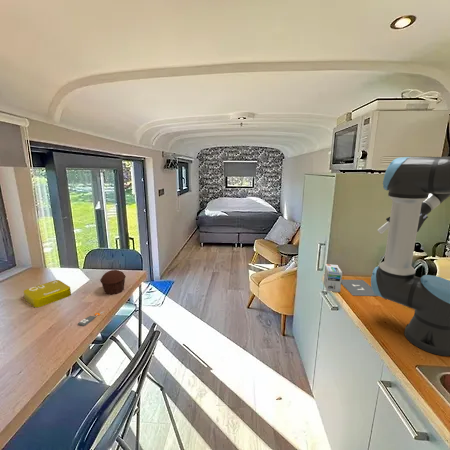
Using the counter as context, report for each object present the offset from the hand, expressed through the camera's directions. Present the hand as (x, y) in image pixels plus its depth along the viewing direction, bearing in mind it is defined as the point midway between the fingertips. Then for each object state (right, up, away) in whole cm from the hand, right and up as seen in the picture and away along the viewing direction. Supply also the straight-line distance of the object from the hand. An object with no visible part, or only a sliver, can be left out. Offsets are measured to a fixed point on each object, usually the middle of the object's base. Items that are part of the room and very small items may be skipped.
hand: (387, 235), depth 123 cm
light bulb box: (-23, -27, +11) cm, 37 cm away
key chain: (-132, -33, -18) cm, 137 cm away
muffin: (-133, -27, +3) cm, 136 cm away
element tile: (-161, -29, -3) cm, 163 cm away
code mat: (-9, -27, +10) cm, 31 cm away
